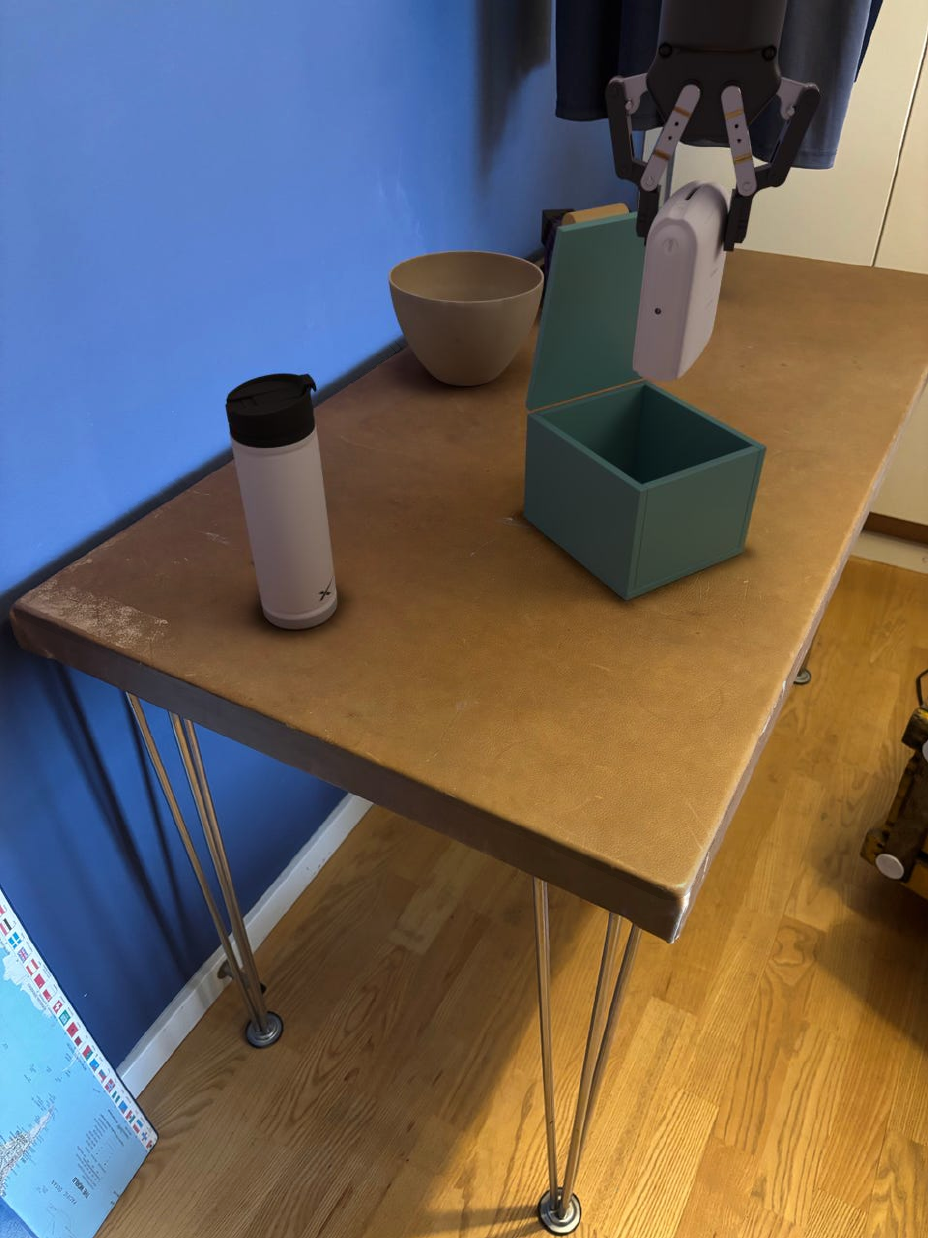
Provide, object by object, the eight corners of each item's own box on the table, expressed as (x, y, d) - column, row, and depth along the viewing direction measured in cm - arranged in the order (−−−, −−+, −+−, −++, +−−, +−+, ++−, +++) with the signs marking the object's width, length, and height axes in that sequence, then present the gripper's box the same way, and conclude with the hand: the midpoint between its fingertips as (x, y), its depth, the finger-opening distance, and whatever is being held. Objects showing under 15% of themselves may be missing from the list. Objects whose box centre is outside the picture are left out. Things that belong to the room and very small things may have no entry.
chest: (743, 553, 83) (767, 446, 76) (625, 601, 77) (640, 491, 70) (633, 478, 93) (645, 379, 86) (522, 516, 88) (526, 413, 81)
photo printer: (680, 387, 66) (708, 207, 58) (624, 376, 68) (643, 199, 60) (717, 338, 73) (746, 171, 66) (665, 329, 75) (688, 165, 67)
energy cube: (538, 295, 134) (542, 209, 127) (618, 291, 135) (626, 205, 128) (554, 326, 125) (559, 235, 118) (639, 321, 126) (649, 231, 119)
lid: (700, 204, 73) (659, 175, 76) (563, 231, 68) (524, 199, 71) (648, 376, 86) (615, 347, 89) (529, 411, 80) (498, 378, 83)
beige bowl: (469, 419, 104) (468, 313, 96) (364, 374, 113) (356, 274, 106) (568, 371, 114) (575, 272, 106) (464, 333, 123) (463, 240, 116)
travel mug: (350, 619, 76) (325, 395, 63) (272, 638, 74) (230, 411, 61) (330, 577, 80) (303, 360, 68) (256, 595, 78) (214, 375, 66)
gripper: (604, -45, 53) (582, 256, 64) (863, -43, 50) (795, 269, 61) (616, -52, 59) (594, 225, 69) (850, -51, 56) (789, 236, 67)
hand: (688, 244), depth 65 cm, fingers closed on photo printer, 5 cm apart
